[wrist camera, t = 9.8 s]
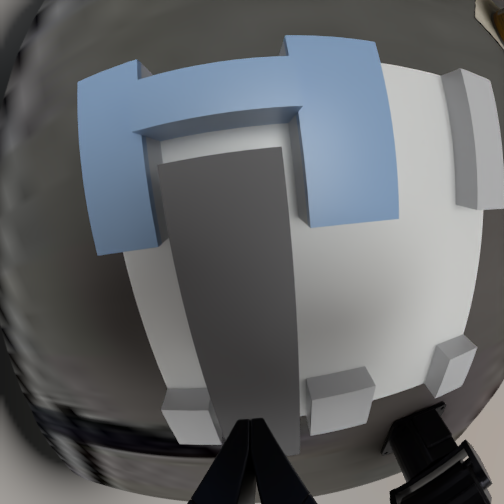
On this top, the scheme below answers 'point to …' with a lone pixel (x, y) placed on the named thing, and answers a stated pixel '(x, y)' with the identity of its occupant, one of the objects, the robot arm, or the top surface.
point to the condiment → (491, 18)
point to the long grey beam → (238, 283)
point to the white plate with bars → (310, 211)
